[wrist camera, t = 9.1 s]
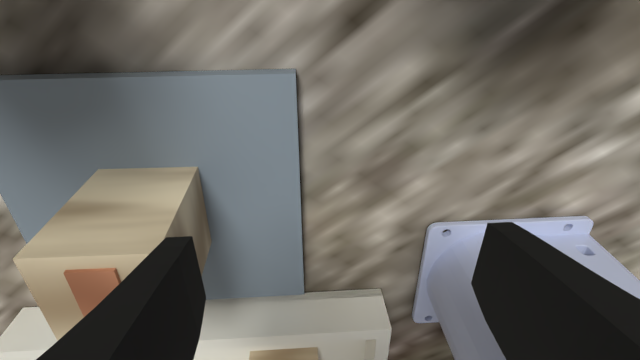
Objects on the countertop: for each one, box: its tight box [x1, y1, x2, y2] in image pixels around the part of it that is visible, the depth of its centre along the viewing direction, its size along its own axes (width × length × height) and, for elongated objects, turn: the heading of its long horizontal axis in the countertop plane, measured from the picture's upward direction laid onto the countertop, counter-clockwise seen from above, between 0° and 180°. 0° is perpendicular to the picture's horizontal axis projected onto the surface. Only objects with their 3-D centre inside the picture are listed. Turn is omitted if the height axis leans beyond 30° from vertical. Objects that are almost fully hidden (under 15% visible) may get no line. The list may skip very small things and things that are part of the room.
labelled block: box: [13, 167, 212, 341], centre depth 16 cm, size 4×4×6 cm
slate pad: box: [0, 69, 304, 300], centre depth 19 cm, size 14×13×1 cm
